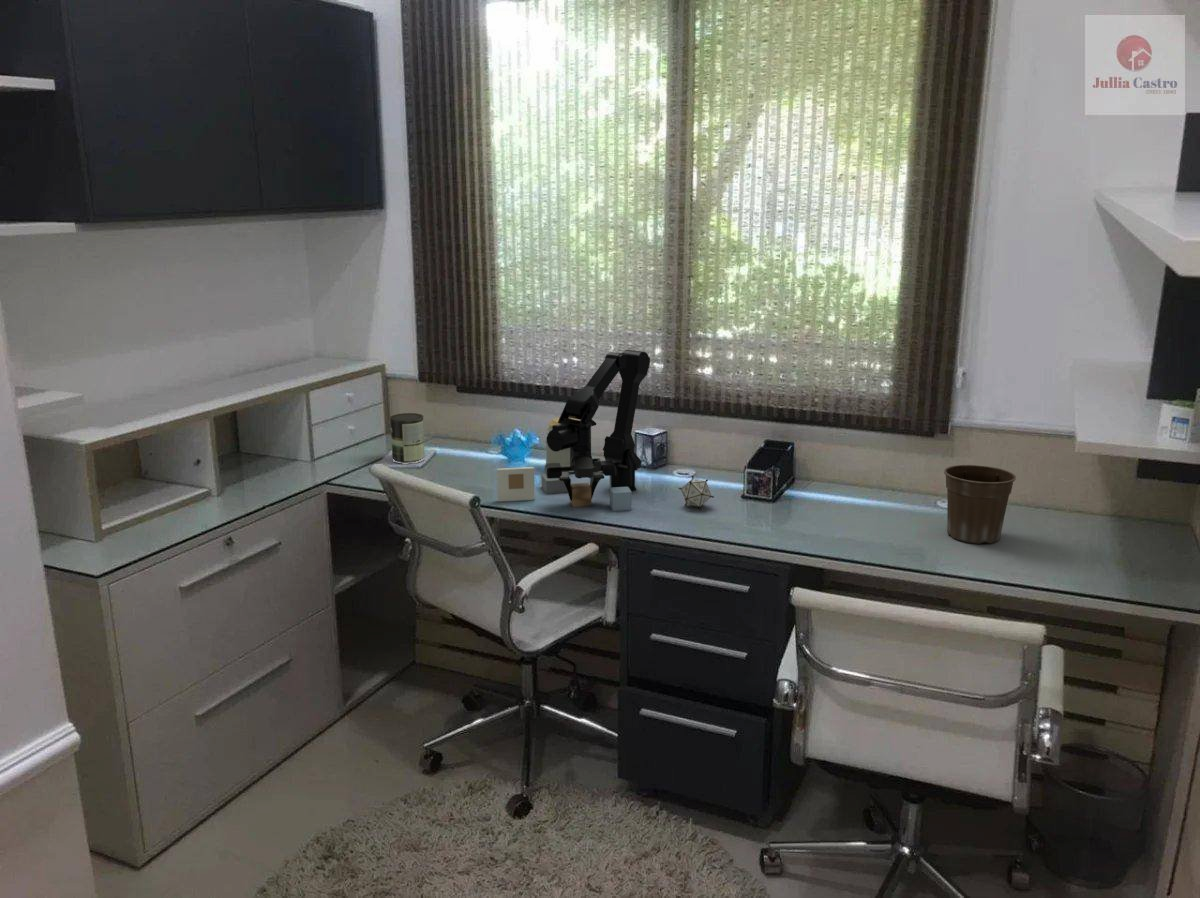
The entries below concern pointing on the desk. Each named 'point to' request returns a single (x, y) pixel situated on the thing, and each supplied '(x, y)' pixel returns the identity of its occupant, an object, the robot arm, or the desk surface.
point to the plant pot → (977, 502)
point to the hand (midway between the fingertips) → (580, 499)
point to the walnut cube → (581, 494)
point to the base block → (553, 485)
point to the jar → (558, 456)
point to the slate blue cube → (620, 498)
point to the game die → (696, 492)
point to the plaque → (515, 484)
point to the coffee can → (407, 437)
